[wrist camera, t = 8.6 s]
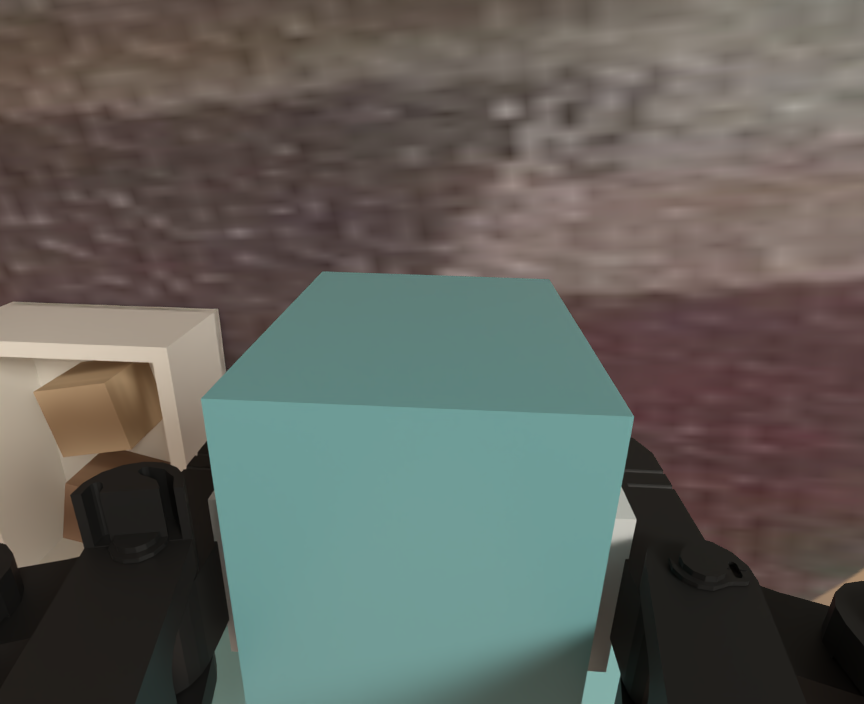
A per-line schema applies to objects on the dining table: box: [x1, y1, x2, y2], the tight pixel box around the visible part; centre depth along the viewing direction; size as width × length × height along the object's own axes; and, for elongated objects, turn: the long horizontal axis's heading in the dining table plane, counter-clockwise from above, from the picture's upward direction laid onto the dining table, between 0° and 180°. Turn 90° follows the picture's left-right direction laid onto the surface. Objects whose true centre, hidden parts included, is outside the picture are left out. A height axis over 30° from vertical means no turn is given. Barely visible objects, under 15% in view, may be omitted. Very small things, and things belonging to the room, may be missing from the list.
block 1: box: [33, 360, 163, 457], centre depth 31 cm, size 4×4×4 cm
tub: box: [0, 302, 226, 568], centre depth 32 cm, size 16×12×6 cm
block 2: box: [63, 450, 171, 543], centre depth 33 cm, size 4×4×4 cm
